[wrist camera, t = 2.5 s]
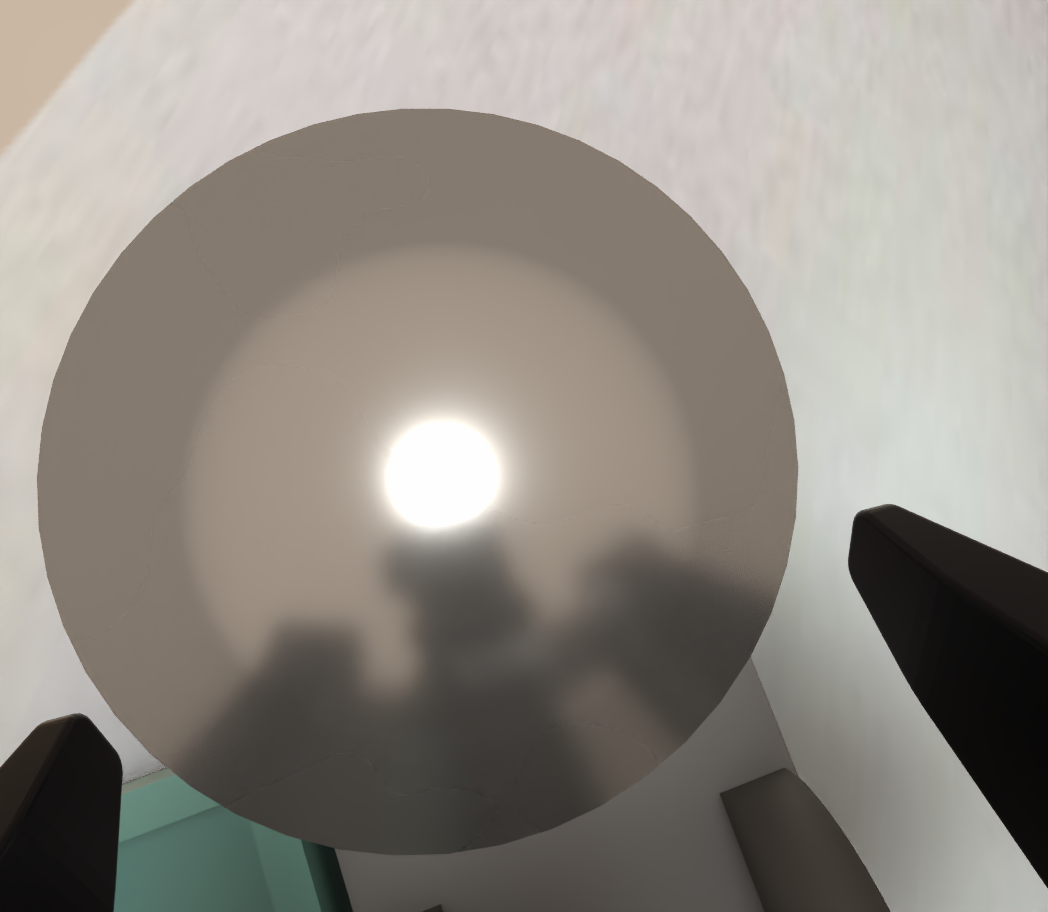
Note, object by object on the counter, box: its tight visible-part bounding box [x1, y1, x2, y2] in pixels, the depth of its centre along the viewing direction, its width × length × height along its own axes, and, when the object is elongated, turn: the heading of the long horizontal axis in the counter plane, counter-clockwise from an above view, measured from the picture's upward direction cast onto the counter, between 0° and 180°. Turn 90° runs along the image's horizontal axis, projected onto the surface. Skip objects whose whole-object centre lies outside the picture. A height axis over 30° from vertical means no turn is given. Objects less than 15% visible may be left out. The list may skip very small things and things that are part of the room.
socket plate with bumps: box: [335, 656, 890, 912], centre depth 15 cm, size 16×9×6 cm, turn 20°
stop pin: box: [37, 109, 798, 856], centre depth 11 cm, size 4×4×14 cm
